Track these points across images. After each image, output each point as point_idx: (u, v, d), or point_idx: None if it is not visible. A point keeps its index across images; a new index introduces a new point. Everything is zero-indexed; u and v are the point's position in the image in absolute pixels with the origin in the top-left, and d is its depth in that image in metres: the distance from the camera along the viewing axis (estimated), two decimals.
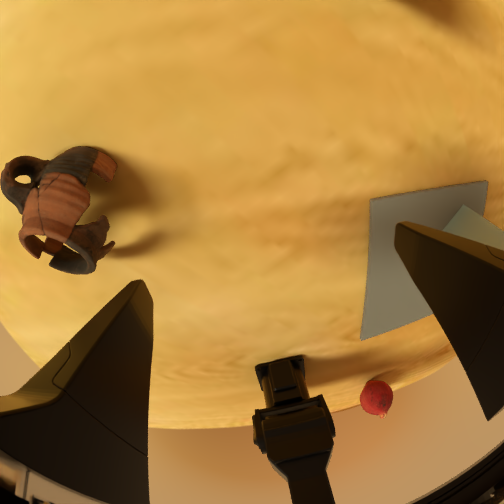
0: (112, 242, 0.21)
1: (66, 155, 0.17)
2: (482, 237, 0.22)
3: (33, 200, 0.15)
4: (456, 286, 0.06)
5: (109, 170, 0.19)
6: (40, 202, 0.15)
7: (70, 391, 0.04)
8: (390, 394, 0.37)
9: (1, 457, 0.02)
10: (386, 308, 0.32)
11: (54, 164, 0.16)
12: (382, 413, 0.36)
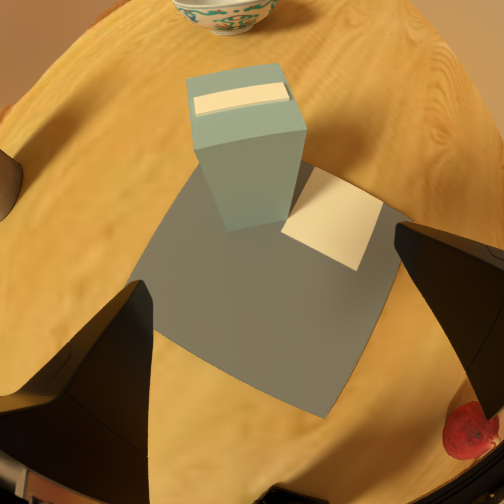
0: None
1: None
2: None
3: None
4: (456, 286, 0.06)
5: None
6: None
7: (71, 390, 0.04)
8: (477, 413, 0.14)
9: (1, 457, 0.02)
10: (289, 361, 0.20)
11: None
12: (488, 444, 0.11)
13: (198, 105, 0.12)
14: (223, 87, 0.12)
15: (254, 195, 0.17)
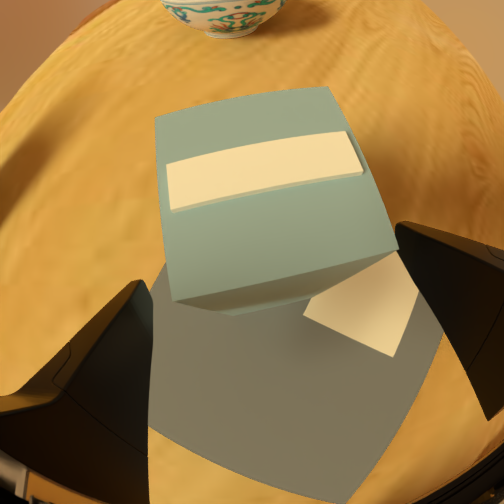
0: None
1: None
2: None
3: None
4: (456, 286, 0.06)
5: None
6: None
7: (71, 390, 0.04)
8: None
9: (1, 457, 0.02)
10: (310, 460, 0.14)
11: None
12: None
13: (176, 184, 0.06)
14: (226, 138, 0.06)
15: (276, 300, 0.11)
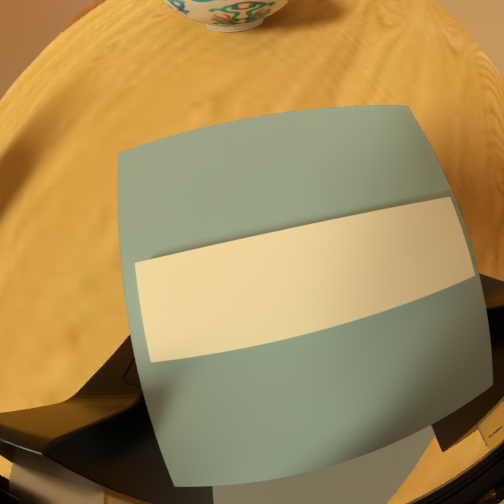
0: None
1: None
2: None
3: None
4: None
5: None
6: None
7: None
8: None
9: (63, 481, 0.02)
10: (321, 502, 0.12)
11: None
12: None
13: (156, 310, 0.03)
14: (249, 204, 0.03)
15: None
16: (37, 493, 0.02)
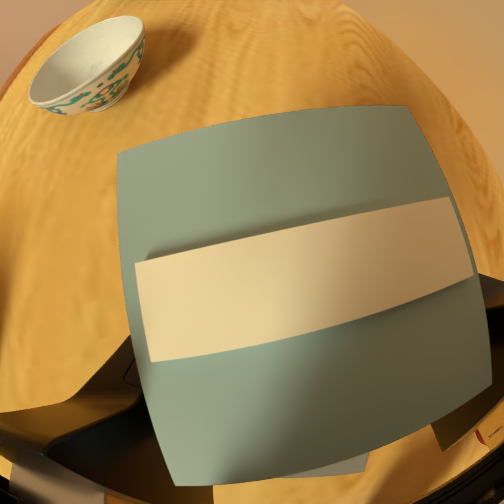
0: None
1: None
2: None
3: None
4: None
5: None
6: None
7: None
8: None
9: (63, 481, 0.02)
10: None
11: None
12: None
13: (156, 310, 0.03)
14: (248, 204, 0.03)
15: None
16: (37, 493, 0.02)
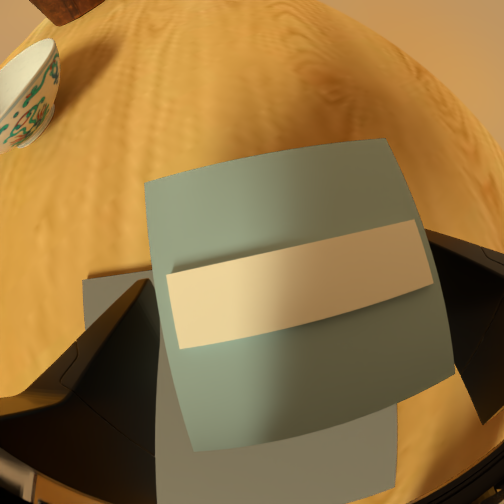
0: None
1: None
2: None
3: None
4: (450, 289, 0.06)
5: None
6: None
7: (79, 390, 0.04)
8: None
9: (7, 460, 0.02)
10: (328, 478, 0.13)
11: None
12: None
13: (183, 310, 0.04)
14: (252, 229, 0.05)
15: None
16: None
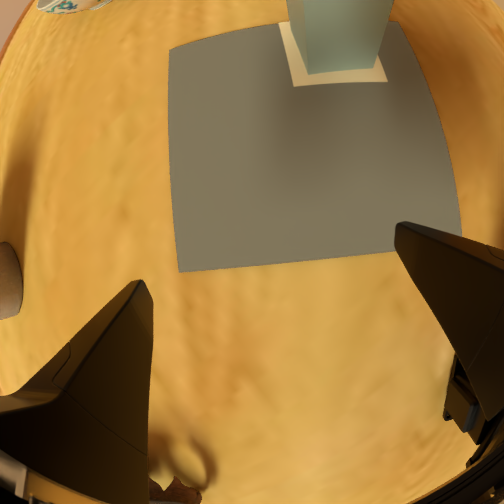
0: None
1: None
2: (292, 2, 0.11)
3: None
4: (456, 286, 0.06)
5: None
6: None
7: (70, 390, 0.04)
8: None
9: (1, 457, 0.02)
10: (395, 200, 0.16)
11: None
12: None
13: None
14: None
15: (348, 17, 0.10)
16: None
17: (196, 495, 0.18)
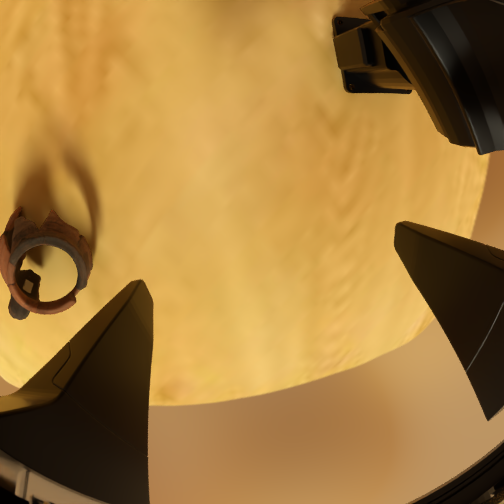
0: (50, 212, 0.17)
1: None
2: None
3: None
4: (456, 286, 0.06)
5: None
6: (6, 282, 0.16)
7: (71, 390, 0.04)
8: None
9: (1, 457, 0.02)
10: None
11: None
12: None
13: None
14: None
15: None
16: None
17: (78, 236, 0.19)
